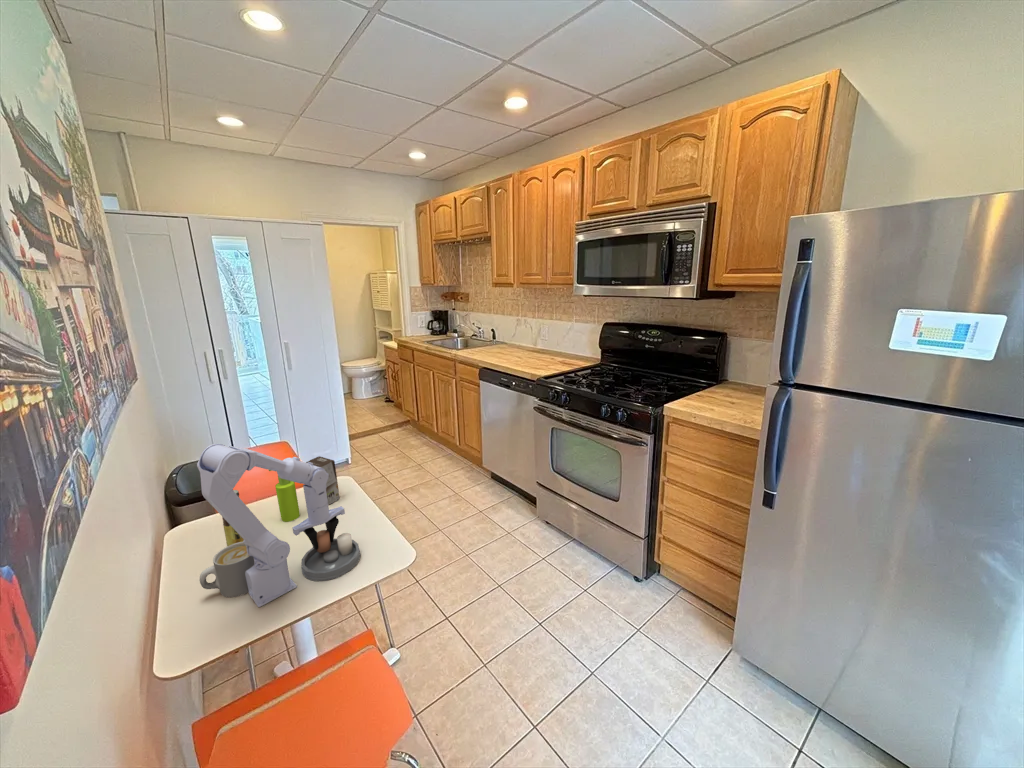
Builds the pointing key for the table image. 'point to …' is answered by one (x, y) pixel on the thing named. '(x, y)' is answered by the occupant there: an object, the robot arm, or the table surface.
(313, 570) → the groove tray
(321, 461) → the coffee box
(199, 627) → the table surface
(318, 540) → the terracotta bead
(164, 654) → the table surface
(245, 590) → the coffee mug
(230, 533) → the sauce bottle
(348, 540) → the cream bead
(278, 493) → the soap dispenser
